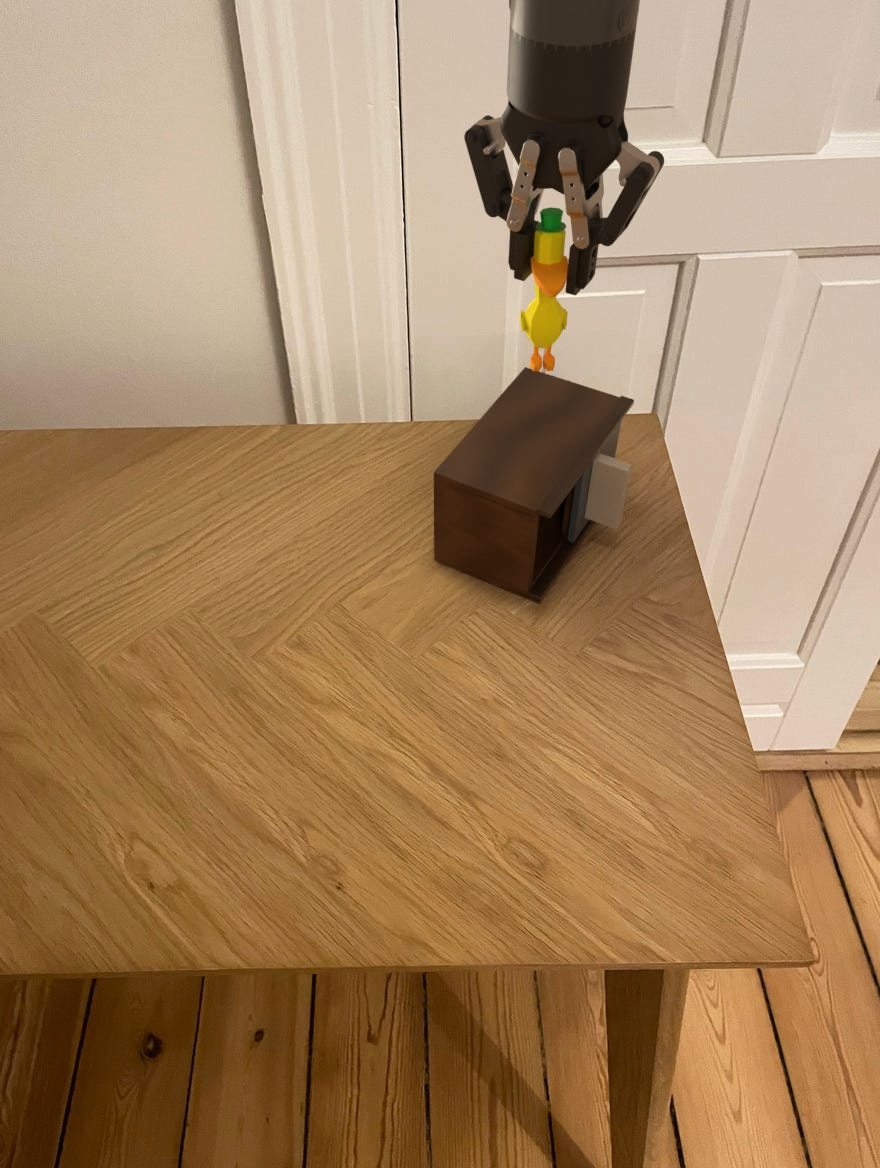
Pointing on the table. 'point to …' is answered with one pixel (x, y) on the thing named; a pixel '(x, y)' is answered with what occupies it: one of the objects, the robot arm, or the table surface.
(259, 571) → the table surface
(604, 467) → the door
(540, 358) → the toy figure
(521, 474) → the cupboard
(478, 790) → the table surface
